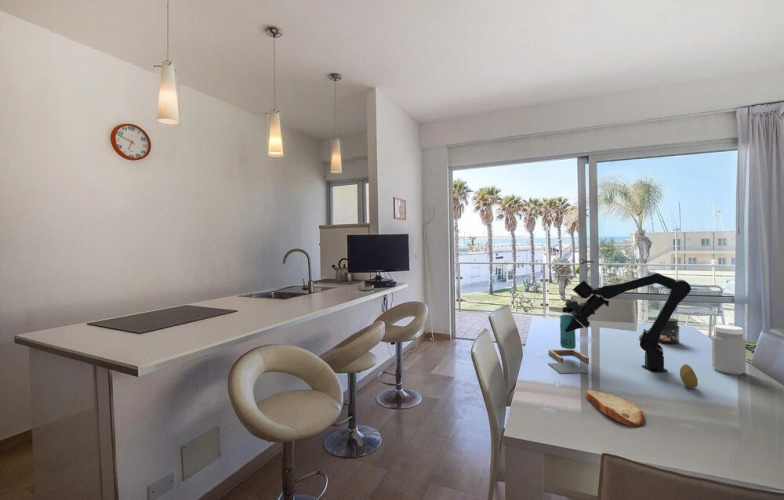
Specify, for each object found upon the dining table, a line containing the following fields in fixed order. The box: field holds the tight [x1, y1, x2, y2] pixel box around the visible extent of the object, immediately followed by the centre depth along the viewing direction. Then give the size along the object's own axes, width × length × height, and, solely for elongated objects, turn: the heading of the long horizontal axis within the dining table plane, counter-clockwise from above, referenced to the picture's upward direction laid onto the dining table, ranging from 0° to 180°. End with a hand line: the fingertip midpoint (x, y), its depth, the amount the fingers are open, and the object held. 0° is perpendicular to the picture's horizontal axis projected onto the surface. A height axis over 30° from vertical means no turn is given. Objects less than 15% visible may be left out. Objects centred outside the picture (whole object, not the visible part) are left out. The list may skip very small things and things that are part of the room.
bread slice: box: [584, 389, 646, 428], centre depth 113 cm, size 18×18×4 cm
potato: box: [679, 364, 699, 389], centre depth 127 cm, size 7×8×8 cm
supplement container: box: [654, 316, 680, 345], centre depth 182 cm, size 10×10×12 cm
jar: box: [711, 324, 747, 376], centre depth 141 cm, size 10×10×18 cm
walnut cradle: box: [547, 348, 590, 363], centre depth 162 cm, size 12×12×2 cm
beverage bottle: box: [559, 306, 577, 350], centre depth 161 cm, size 6×7×20 cm
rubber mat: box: [547, 362, 588, 375], centre depth 149 cm, size 11×11×1 cm
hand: (564, 329), depth 162 cm, fingers closed on beverage bottle, 6 cm apart
